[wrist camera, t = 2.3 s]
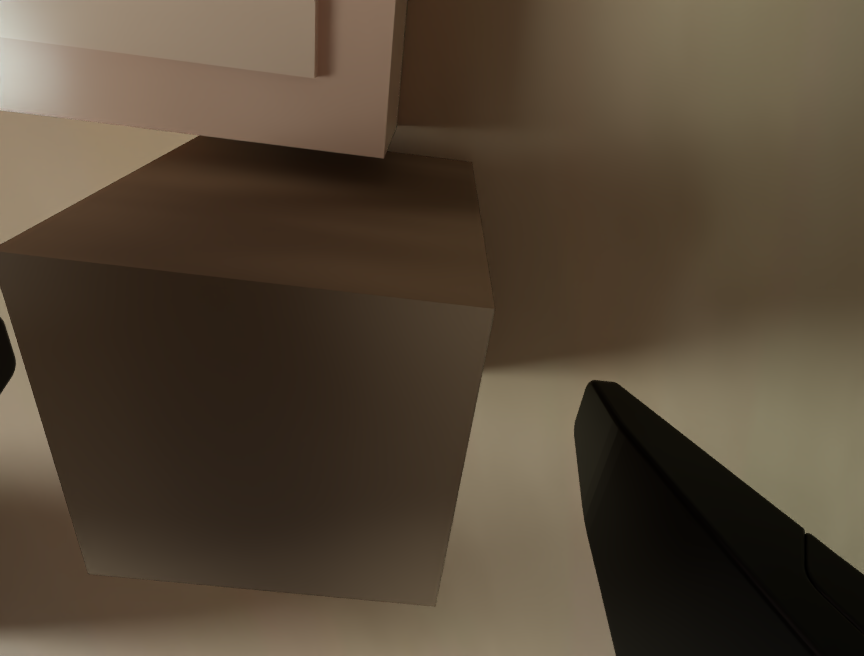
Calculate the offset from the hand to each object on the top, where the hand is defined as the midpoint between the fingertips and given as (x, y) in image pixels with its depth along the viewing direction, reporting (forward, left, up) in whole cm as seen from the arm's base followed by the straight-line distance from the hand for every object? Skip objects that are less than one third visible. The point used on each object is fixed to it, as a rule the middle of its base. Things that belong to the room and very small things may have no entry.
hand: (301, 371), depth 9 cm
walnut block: (0, 0, -4) cm, 4 cm away
